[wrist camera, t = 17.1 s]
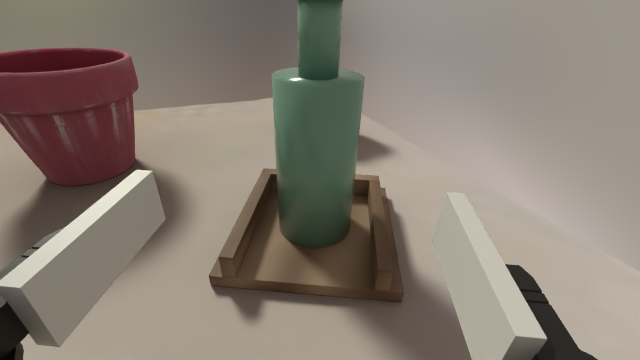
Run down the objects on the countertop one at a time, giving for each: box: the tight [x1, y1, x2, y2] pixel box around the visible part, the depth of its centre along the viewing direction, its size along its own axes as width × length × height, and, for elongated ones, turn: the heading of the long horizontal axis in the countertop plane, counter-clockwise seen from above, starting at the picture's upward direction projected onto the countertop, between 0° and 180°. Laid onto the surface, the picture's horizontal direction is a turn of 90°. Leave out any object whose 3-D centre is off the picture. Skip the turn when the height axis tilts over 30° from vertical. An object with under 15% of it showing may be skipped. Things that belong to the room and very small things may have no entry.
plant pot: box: [0, 48, 138, 186], centre depth 35 cm, size 14×14×13 cm
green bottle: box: [272, 0, 365, 248], centre depth 24 cm, size 6×6×18 cm
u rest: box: [209, 169, 403, 302], centre depth 28 cm, size 14×14×3 cm
